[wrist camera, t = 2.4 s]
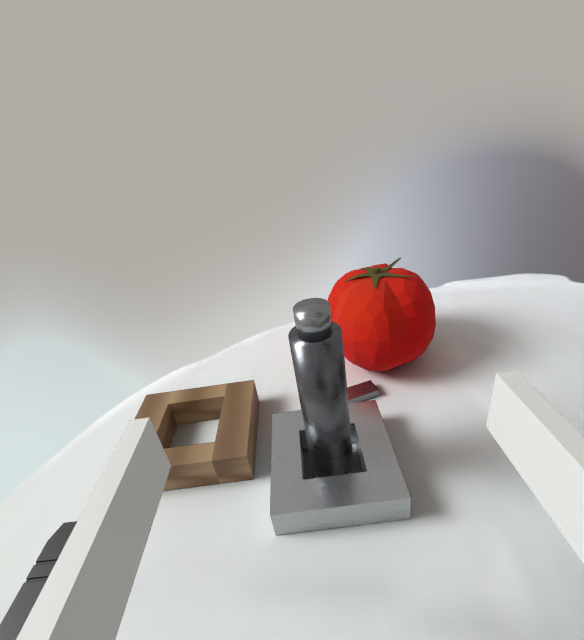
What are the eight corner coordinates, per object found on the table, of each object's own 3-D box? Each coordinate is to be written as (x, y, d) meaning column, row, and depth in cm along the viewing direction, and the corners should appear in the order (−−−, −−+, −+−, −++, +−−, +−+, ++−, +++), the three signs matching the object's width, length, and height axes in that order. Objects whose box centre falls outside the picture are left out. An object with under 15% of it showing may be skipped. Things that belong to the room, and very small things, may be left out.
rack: (259, 400, 39) (253, 379, 37) (253, 479, 30) (246, 456, 29) (155, 414, 39) (146, 394, 38) (120, 496, 31) (107, 474, 29)
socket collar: (376, 418, 34) (375, 399, 33) (410, 518, 25) (410, 498, 24) (276, 432, 34) (272, 413, 33) (276, 535, 26) (270, 515, 24)
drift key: (370, 385, 38) (370, 380, 38) (378, 395, 37) (378, 390, 36) (303, 408, 37) (302, 402, 36) (308, 419, 35) (307, 413, 35)
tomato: (434, 331, 46) (440, 247, 40) (431, 400, 35) (438, 299, 30) (344, 325, 50) (337, 249, 45) (317, 385, 40) (304, 295, 34)
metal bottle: (349, 449, 31) (335, 290, 24) (358, 485, 28) (344, 315, 20) (310, 454, 32) (283, 298, 24) (314, 490, 28) (284, 324, 21)
